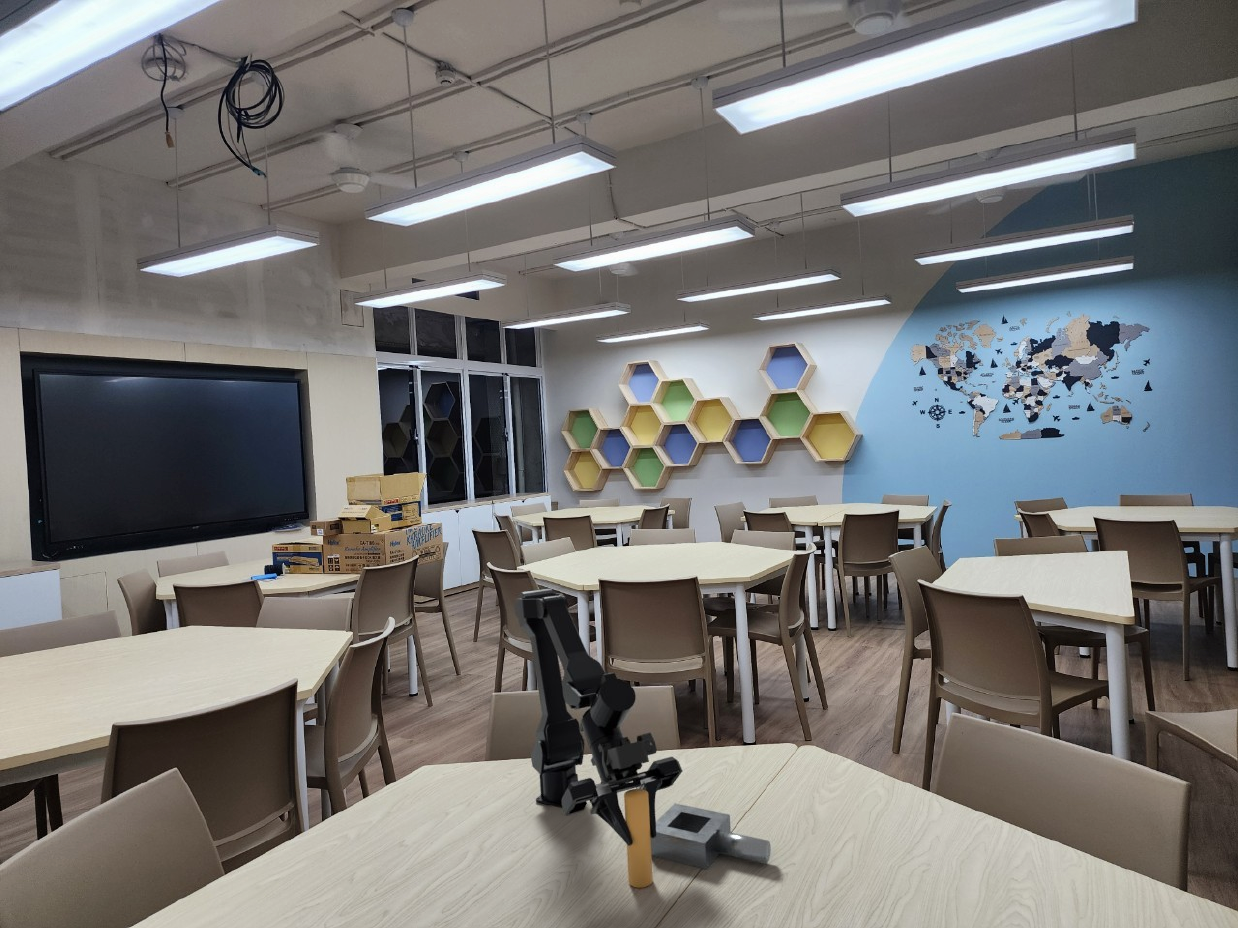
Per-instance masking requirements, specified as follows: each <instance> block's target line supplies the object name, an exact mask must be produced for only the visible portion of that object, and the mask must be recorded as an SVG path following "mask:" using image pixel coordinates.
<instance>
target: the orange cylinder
mask: <svg viewBox="0 0 1238 928" xmlns="http://www.w3.org/2000/svg"><path fill="white" fill-rule="evenodd" d="M623 797H624V798H623V799H624V800H623V801H624V819H625V821H626V824H627V826H628V829H629V831H630V834H631V838H632V841H633V843H632V845H630V846H628V845H627V844H626V856H627V872H628V874H627V876H628V877H627V878H628V884H629V885H630V886H632V887H634V888H640V889H641V888H646V887H648V886H650V885H651V884H652V883H653V860H652V858H653V856H651V837H650V818H649V799H648V792H647V791H645V790H643V789H636V788H633V789H629V790H626V791H625V792H624V794H623Z"/></svg>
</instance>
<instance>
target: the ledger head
mask: <svg viewBox="0 0 1238 928" xmlns="http://www.w3.org/2000/svg"><path fill="white" fill-rule="evenodd" d="M731 829H732V828H731V814H729V813H723V812H719V811H713V810H708V809H704V808H700V807H696V806H690V805H689V806H688V805H685V804H680V803H676V802H675V803H673V805H671V807H669V809H668V810H666V811H665V813H663V814H662V815H661V816H660V817H659V818H658V819H657V820H656V837H655V838H652V837H651V836H650V837H651V857H656V858H660V859H664V860H667V861H671V862H676V863H679V864H683V865H688V866H692V867H696V868H699V869H703V870H708V869H709V867H710V866H711V864H712V863H713V862H714V861H715V859H716V858H717V857H718V856H719V855H720V854H722V855H723V854H724V855H728V856H731V857H736V858H740V859H745V860H748V861H752V862H758V863H762V864H764V865H765V864H766V865H767V864H768V862H770V858H771V849H772V847H771V846H772V845H771V841H769V840H766V839H762V838H757V837H753V836H748V835H744V834H739V833H734V832H731V831H732V830H731Z"/></svg>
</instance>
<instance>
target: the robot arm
mask: <svg viewBox="0 0 1238 928" xmlns="http://www.w3.org/2000/svg"><path fill="white" fill-rule="evenodd" d="M513 607H514V609H513V610H514V613H515V616H516V617H517V619H518V623H519V627H520V628H521V629H522V631H523V632H524V633H525V634H526V635H527V636H528V637H529V639H530V644H531V651H532V652H531V653H532V657H533V658H532V659H533V664H534V665H533V666H534V671H535V679H536V684H537V691H538V696H539V703H540V710H541V718H540V721H539V723H538V726H537V728H536V732H535V735H536V741H535V745H534V747H533V749H532V752H531V753H530V759H531V760H530V761H531V767H532V768H533V769H534V770H535V771H536V772H537V773H538V774H539V787H540V788H539V789H540V795H539V796H537V797H536V798H535V802H536V803H539V804H545V805H549V806H553V807H558V808H562V810H563V812H564V816H571V815H574V814H578V813H582V812H584V810H585V808H586V807H587V805H588V803H587V802H588V801H589V803H590V805H591V808H590V810H589V812H590V814H591V815H595V814H596V815H597V816H599V818H601V819H602V820H603V821H604V822H605V823H607V824H608V826H610V827H611V828H612V829H613V830H614V832H615V833H616V834H617V835H618V836H619V837H620V838H621V840H623V841H624V843H625V844H626V846H627V845H628V846H630V845H632V843H633V841H632V838H631V834H630V831H629V829H628V826H627V824H626V821H625V815H623V812H622V810H621V807H620V804H619V798H618V793H621V792H624V791H625V792H626V791H628V790H632V789H643V790H645V791H647V792H648V799H649V818H650V836H651V837H652V838H655V837H656V821H657V820H656V794H657V792H658V791H660V790H664V789H668V788H669V787H672V786H673V785H674V784H675V782H676V781H677V779H678V778H679V777H680V775H682V773H683V769H682V766H681V764H680V761H679V760H678V759H676V758H675V757H674V756H669V757H665V758H661V759H658V760H653V762H652V763H651V764H650V766H649V768H648V769H647V770H645V771H641V772H638V770H641V768H642V767H643V764H645V763H650V760H649V759H650V758H649V756H651V755H655V754H656V753H657V744H656V741H655V739H654V737H653V735H652V733H651V732H646V733H643V734H639V735H637V736H636V742H631V740H630V738H628V737H629V736H624V734H623V732H622V729H621V725H623V724H624V722H625V720H626V718H627V717H628V715H629V714H630V712H631V710H632V708H633V706H634V705H635V702H636V695H637V694H636V692H635V690H634V688H633V687H632V686H631V685H630V684H629V683H628V682H627V681H625V680H624V679H621V678H617V676H616V673H615V672H610V673H606V671H605V669H604V667H603V666H602V664H601V663H600V662H599V661H598V660H597V659H595V658H593V657H592V656H590V654H589V653H588V652H587V648H586V647H585V645H584V642H583V641H582V638H581V635H580V633H579V631H578V629H577V627H576V624H575V622H574V619H573V618H572V616H571V613H570V610H569V602H568V599H567V598H566V596H565V595H564V594H563V593H559V592H558V593H557V592H554V591H553V589H552V588H545V589H536V590H529V591H521V592H520V593H519V594H518V597H517V598H515V599H514V602H513ZM560 664H561V666H562V669H563V677H562V672H561V666H560ZM567 705H568V706H569V708H571V709H574V710H575V711H577V710H581V709H585V708H586V709H587V708H588V709H587V710H586V711H585V712H584V713H583V714H582V716H581V717H582V718H581V720H580V722H579V721H578V719H577V718H575V717H574V718H573V716H572V714H571V713H570V712H569V711H568V709H567ZM581 732H584V733H583V734H584V736H585V739H586V742H587V744H588V747H589V750H590V753H591V756H592V757H591V759H590V762H591V765H592V766H593V767H594V766H596V767H595V768H596V770H597V773H598V776H599V779H600V783H597V784H596V783H595V780H594V779H593V778H592V777H587V778H585V779H580V780H579V775H578V773H577V771H576V770H577V769H576V766H581V765H583V761H584V752H585V739H584V736H583V734H582V733H581Z"/></svg>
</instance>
